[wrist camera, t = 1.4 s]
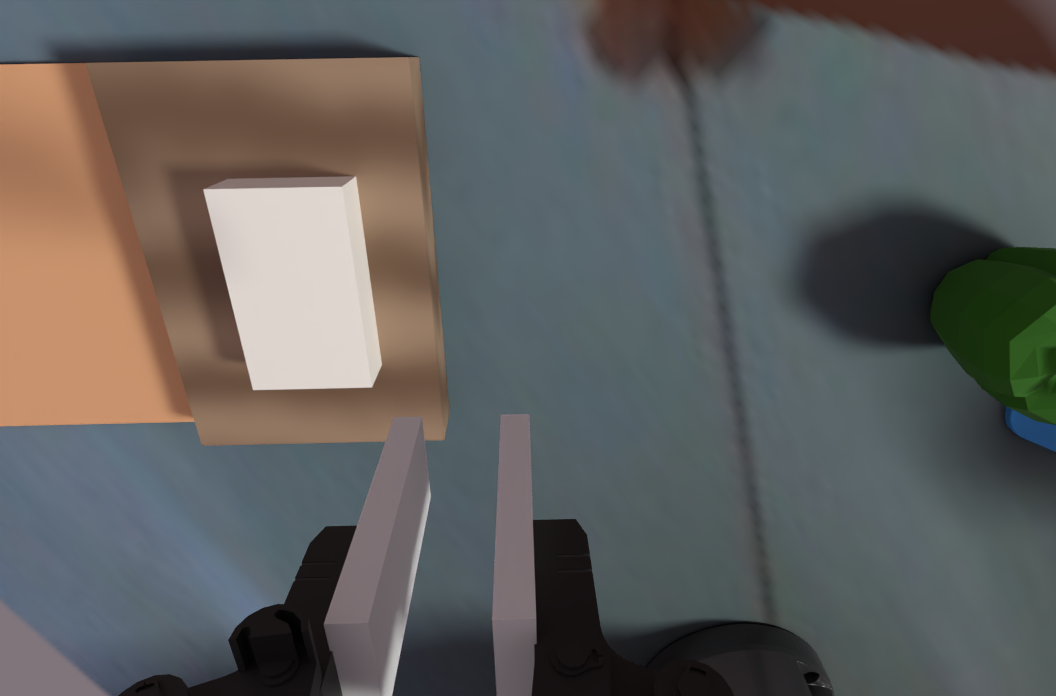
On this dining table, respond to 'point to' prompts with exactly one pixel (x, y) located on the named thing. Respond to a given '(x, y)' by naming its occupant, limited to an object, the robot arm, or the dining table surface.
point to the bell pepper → (1004, 326)
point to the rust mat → (73, 267)
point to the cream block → (298, 280)
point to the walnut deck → (282, 152)
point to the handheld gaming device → (1031, 429)
